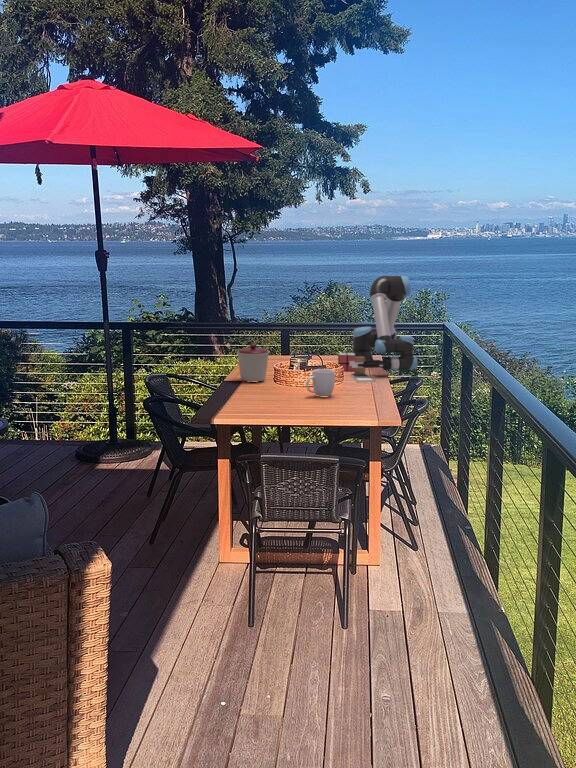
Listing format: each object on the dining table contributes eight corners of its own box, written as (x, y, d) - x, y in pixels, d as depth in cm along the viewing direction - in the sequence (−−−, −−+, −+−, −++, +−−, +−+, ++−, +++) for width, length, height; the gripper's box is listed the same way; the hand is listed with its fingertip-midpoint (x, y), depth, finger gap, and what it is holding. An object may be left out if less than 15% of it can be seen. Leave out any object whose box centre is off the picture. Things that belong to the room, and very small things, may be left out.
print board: (352, 378, 451) (352, 377, 451) (371, 378, 453) (371, 377, 453) (357, 382, 440) (357, 380, 440) (376, 381, 442) (376, 380, 442)
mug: (311, 399, 392) (311, 373, 390) (301, 395, 402) (302, 370, 400) (338, 397, 398) (338, 371, 396) (328, 393, 408) (328, 368, 406)
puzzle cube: (355, 371, 475) (355, 355, 473) (338, 371, 475) (338, 355, 474) (354, 369, 485) (354, 352, 483) (337, 369, 485) (338, 352, 483)
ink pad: (350, 375, 461) (350, 373, 461) (365, 375, 462) (365, 373, 462) (353, 378, 452) (353, 376, 452) (369, 378, 454) (369, 375, 453)
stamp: (354, 374, 459) (354, 356, 457) (362, 373, 460) (363, 356, 458) (356, 375, 454) (356, 358, 452) (364, 375, 455) (365, 357, 453)
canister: (268, 384, 432) (268, 345, 429) (235, 383, 433) (234, 345, 429) (270, 378, 450) (270, 341, 446) (238, 378, 451) (238, 341, 447)
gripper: (394, 372, 451) (354, 373, 447) (385, 367, 468) (347, 368, 464) (395, 359, 449) (354, 360, 446) (386, 354, 467) (347, 355, 463)
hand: (350, 364), depth 455 cm, fingers closed on stamp, 5 cm apart
